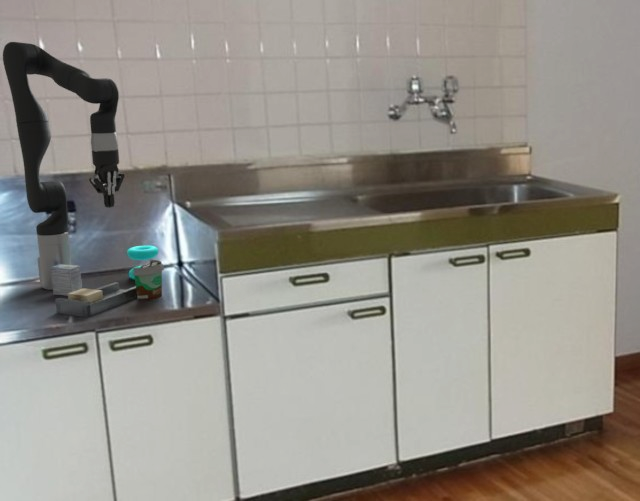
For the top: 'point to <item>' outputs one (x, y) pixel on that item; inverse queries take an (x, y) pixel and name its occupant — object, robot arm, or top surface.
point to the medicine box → (65, 279)
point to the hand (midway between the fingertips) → (109, 207)
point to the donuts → (141, 255)
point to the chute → (86, 309)
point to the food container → (149, 280)
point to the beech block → (86, 295)
